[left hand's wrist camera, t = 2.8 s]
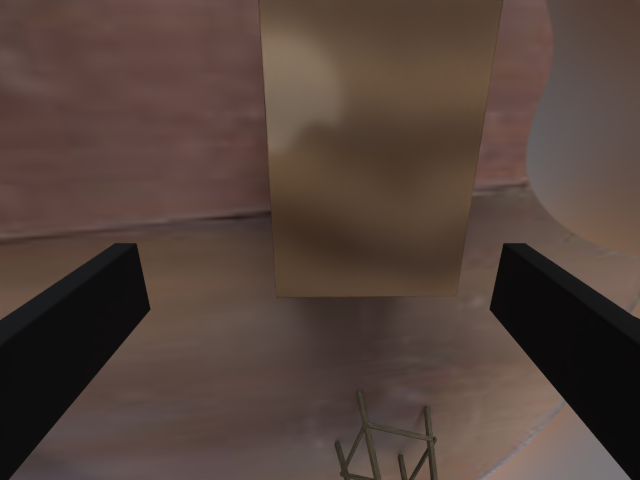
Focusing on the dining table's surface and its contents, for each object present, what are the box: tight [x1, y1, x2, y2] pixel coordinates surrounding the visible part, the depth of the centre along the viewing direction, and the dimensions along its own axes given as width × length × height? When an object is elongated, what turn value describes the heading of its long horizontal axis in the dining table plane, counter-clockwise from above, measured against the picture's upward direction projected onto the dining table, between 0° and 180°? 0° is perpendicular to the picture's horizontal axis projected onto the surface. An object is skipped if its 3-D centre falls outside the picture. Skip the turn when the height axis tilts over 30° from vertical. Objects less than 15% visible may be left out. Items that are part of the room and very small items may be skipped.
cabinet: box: [258, 0, 503, 297], centre depth 22 cm, size 20×11×10 cm, turn 0°
